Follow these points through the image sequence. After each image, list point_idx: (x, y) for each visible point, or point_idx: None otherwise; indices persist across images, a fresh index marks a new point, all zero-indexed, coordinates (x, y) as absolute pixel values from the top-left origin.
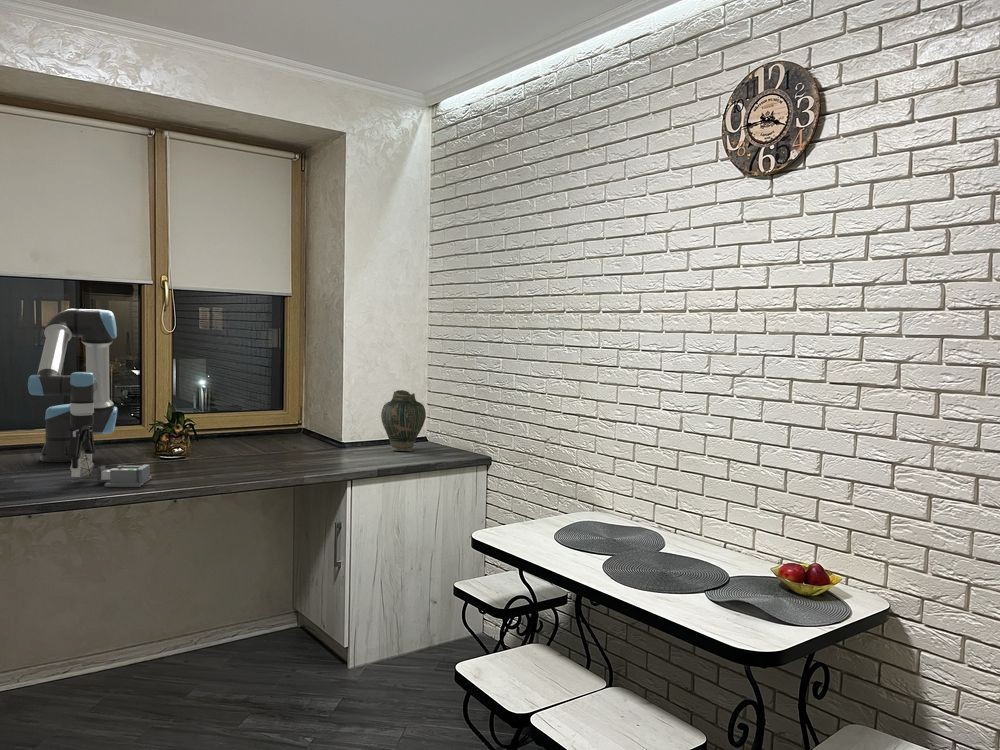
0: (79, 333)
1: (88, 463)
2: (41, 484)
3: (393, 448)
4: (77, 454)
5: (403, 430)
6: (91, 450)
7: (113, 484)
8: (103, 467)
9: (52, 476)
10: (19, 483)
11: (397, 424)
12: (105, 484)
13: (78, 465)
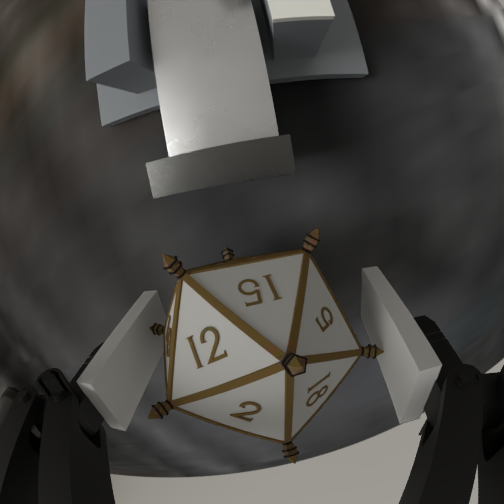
0: None
1: (283, 300)
2: (328, 400)
3: None
4: (477, 418)
5: None
6: (63, 410)
7: (354, 24)
8: (206, 148)
9: (179, 417)
10: (312, 444)
11: None
12: (365, 69)
13: (413, 327)
